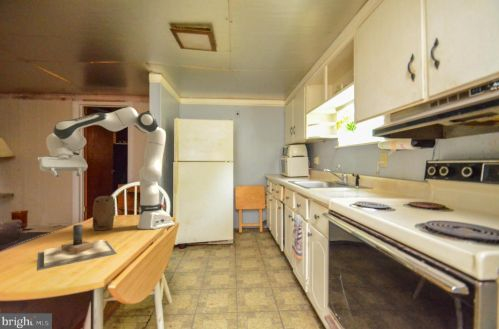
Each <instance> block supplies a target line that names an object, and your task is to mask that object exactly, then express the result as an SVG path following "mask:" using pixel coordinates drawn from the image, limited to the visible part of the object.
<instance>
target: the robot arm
mask: <svg viewBox="0 0 499 329" xmlns="http://www.w3.org/2000/svg"><path fill="white" fill-rule="evenodd" d="M90 126H100V127H103V128H104V129H106V130H108V131H110V132H119V131H121V130H124V129H125V128H127V127H131V126H134V127H135V128H136V129H138V131H140V132H141V133H143V134H145V133H146V134H147V141H146V144H145V150H144V157H143V159H144V160H143V166H142V167H141V168H140V169H139V172H138V178H139V179H138V181H139V192H140V193H139V194H140V195H139V196H140V197H139V198H140V199H139V200H140V203H139V205H138V206H139V207H138V208H139V210H138V212H139V217H138V223H137V228H138V229H140V230H141V229H143V230H157V229H162V228H167V227H171V226H172V227H173V226H174V225H175V222H174V221H173V220H172V217H171V215H170V214H169V213H168V212H167V211H165V210H164V209H163V208H165V204H161V203H160V190H159V189H160V188H159V184H158V182H159V180H160V179H161V178H162V175H163V173H162V172H163V158H164V157H163V156H164V153H165V146H166V140H167V133H166V130H164V129H163V128H162V127H159V124H158V122H157V119H156V117H155V115H154V114H152V113H151V112H149V111H143V112H140V113H138V112H137V110H136V109H135V108H134V107H132V106H127V107H123V108H119V109H117V110H114V111H112V112H108V113H104V112H95V113H91V114H88V115H85V116H81V117H77V118H73V119H67V120H61V121H58V122H56V124H55V125H54V127H53V131H52V133H50V134H48V136H47V137H46V140H45V142H46V148H47V150H48V152H49V156H48V155H47V156H44V155H41V156H38V157H37V158H36V159H37V162H38V163H39V170H40V171H42V172H50V173H51V174H52V175H54V177H55V178H57V177H60V173H59V172H76V173H75V175H76V177H81V174H82V173H81V172H85V171H87V169H88V167H89V166H88V163H87V161H86V159H85V158H84V157H83V154H82V153H81V152H77V151H80V150H82V149H84V148H85V147H86V145H87V138H86V137H85V136H84V134H82V133H81V132H80V131H79V130H81V129H83V128H84V129H85V128H87V127H90Z"/></svg>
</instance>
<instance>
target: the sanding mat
mask: <svg viewBox="0 0 499 329" xmlns="http://www.w3.org/2000/svg"><path fill="white" fill-rule="evenodd" d="M104 242H105V243H106V244H107V246H108V247H109V248H110V250H111V254H106V255H101V256H97V257H92V258H87V259H82V260H77V261H72V262H67V263H62V264H57V265H52V266H48V267H44V251H39V252H38V253H37V263H36V264H37V266H36V271H42V270H46V269H50V268H52V269H53V268H56V267H61V266H65V265H70V264H75V263H80V262H85V261H90V260H95V259H101V258H104V257H109V256H113V255H118V253H117V252H116V250H115V249H114V248H113V247H112V245H110V243H109V242H108V241H107V240H104Z"/></svg>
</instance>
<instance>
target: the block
mask: <svg viewBox="0 0 499 329" xmlns="http://www.w3.org/2000/svg"><path fill="white" fill-rule="evenodd" d="M114 217H115V200H114V196H113V195H109V196H108V195H100V196H97V197H96V198H95V199H94V202H93V205H92V230H93V231H109V230H112V229H113V227H114V221H115V220H114V219H115V218H114Z"/></svg>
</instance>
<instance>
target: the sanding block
mask: <svg viewBox="0 0 499 329" xmlns="http://www.w3.org/2000/svg"><path fill="white" fill-rule="evenodd" d="M72 228H73V230H72V231H73V232H72V233H73V234H72V241H70V242H67V243H63V244H61V246H60V247H61V251H65V252H70V253H75V254H78V253H82V252H85V251H88V250H91V249H94V243H92V241H86V240H83V224H75V225H73V227H72Z"/></svg>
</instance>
